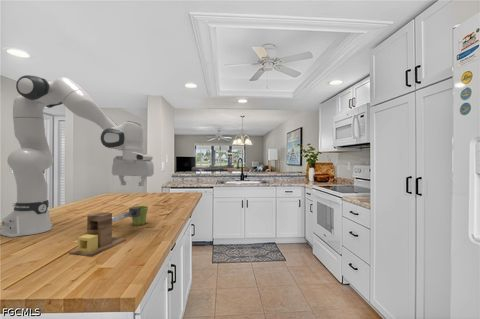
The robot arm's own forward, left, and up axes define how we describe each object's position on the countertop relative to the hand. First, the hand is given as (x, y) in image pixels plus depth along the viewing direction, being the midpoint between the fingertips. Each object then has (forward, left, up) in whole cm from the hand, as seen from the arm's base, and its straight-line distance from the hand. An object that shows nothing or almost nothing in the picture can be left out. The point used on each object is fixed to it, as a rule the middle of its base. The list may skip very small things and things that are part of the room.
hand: (132, 185), depth 118 cm
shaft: (0, -9, -15) cm, 17 cm away
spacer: (0, -26, -21) cm, 33 cm away
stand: (0, -20, -22) cm, 30 cm away
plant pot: (-6, +14, -22) cm, 27 cm away
